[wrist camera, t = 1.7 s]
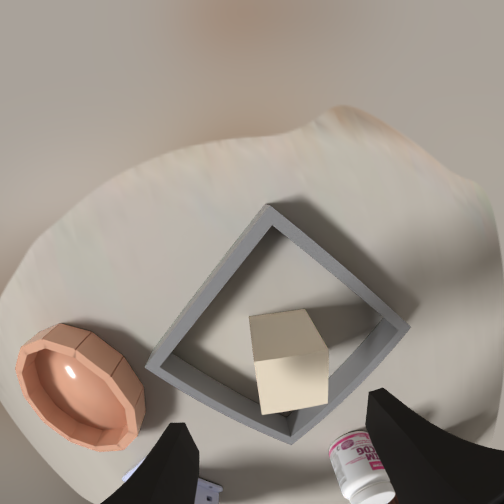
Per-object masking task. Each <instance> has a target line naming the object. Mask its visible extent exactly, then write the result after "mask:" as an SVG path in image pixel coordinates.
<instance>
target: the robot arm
mask: <svg viewBox="0 0 504 504" xmlns="http://www.w3.org/2000/svg"><path fill="white" fill-rule="evenodd" d="M365 425H366V428H367V431H368V434H369V437H370V439H371V442H372V445H373V447H374V449H375V451H376V453H377V455H378V457H379V459H380V461H381V463H382V465H383V467H384V469H385V471H386V473H387V475H388V477H389V479H390V481H391V483H392V485H393V488H394V490H395V493H396V496H397V499H398V502H399V504H504V451H502V450H496V449H492V448H488V447H484V446H481V445H478V444H475V443H471V442H468V441H466V440H463V439H461V438H458V437H456V436H454V435H452V434H450V433H448V432H446V431H444V430H442V429H440V428H439V427H437V426H435V425H434V424H432V423H430V422H429V421H427V420H426V419H424V418H423V417H421V416H420V415H418V414H417V413H415V412H414V411H413V410H411V409H410V408H408V407H407V406H406V405H405V404H403V403H402V402H401V401H399V400H398V399H397V398H396V397H394V396H393V395H392V394H391V393H389V392H388V391H387V390H386V389H384V388H380V389H377V390H374V391H370V392H369V395H368V406H367V415H366V423H365ZM198 477H199V450H198V448H197V446H196V444H195V443H194V441H193V439H192V437H191V435H190V433H189V430H188V428H187V426H186V424H185V423H170V424H169V425H168V427H167V428H166V430H165V431H164V433H163V434H162V436H161V437H160V438H159V440H158V441H157V443H156V444H155V446H154V447H153V449H152V450H151V451H150V453H149V454H148V455H147V456H146V457H145V458H144V459H143V460H141V461H140V462H139V463H138V464H137V465H136V466H135V467H134V468H132V469H131V470H130V471H129V472H128V473H127V474H125V475H124V476H123V477H122V481H124V482H125V483H124V484H123V485H122V486H121V487H120V488H119V489H117V490H116V491H115V492H114V493H113V494H112V495H111V496H109V497H108V498H107V499H106V500H105V501H103V502H102V503H101V504H219V492H221V491H223V488H222V487H221V486H219V485H216V484H213V483H210V482H208V481H205V480H203V479H200V478H198Z"/></svg>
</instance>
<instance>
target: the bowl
mask: <svg viewBox="0 0 504 504" xmlns="http://www.w3.org/2000/svg"><path fill="white" fill-rule="evenodd" d="M15 370H16V373H17V377H18V380H19V383H20V386H21V390H22V393H23V395H24V397H25V398H26V400H27V401H28V403H29V404H30V405H31V407H32V408H33V409H34V411H35V412H36V413H37V415H38V416H39V417H40V418H41V420H42V421H44V423H45V424H47V425H48V426H49V427H51V428H52V429H53V430H55V431H56V432H57V433H59V434H60V435H61V436H63V437H64V438H66V439H67V440H68V441H70V442H72V443H75V444H78V445H80V446H83V447H86V448H89V449H92V450H95V451H99V452H104V451H118V450H124V449H125V448H126V447H127V446H128V445H129V444H130V443H131V442H132V441H133V440H134V439H135V438H136V437H137V436H138V433H139V430H140V427H141V425H142V422H143V419H144V416H145V413H146V410H145V397H144V387H143V385H142V383H141V382H140V380H139V379H138V377H137V376H136V374H135V373H134V371H133V370H132V368H131V367H130V365H129V363H128V362H127V360H126V359H125V357H123V355H122V354H120V353H119V352H118V351H116V350H115V349H114V348H112V347H111V346H110V345H108V344H107V343H106V342H104V341H103V340H102V339H101V338H99V337H98V336H97V335H95V334H94V333H93V332H92V333H91V331H87V330H83V329H80V328H76V327H72V326H68V325H65V324H61V323H59V324H57V325H55V326H52V327H50V328H48V329H45V330H43V331H40V332H39V333H37V334H36V335H35V336H34V337H32V338H31V339H30V340H29V341H28V342H26V343H25V344H24V345H23V346H22V347H21V348H20V352H19V355H18V359H17V363H16V367H15Z"/></svg>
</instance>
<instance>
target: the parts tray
mask: <svg viewBox="0 0 504 504" xmlns="http://www.w3.org/2000/svg"><path fill="white" fill-rule="evenodd" d="M272 225H273V226H274V227H275V228H276V229H278V230H279V231H280V232H281V233H283V234H284V235H285V236H286V237H288V238H289V239H290V240H291V241H293V242H294V243H295V244H296V245H298V246H299V247H300V248H301V249H303V250H304V251H305V252H306V253H307V254H309V255H310V256H311V257H312V258H314V259H315V260H316V261H317V262H318V263H320V264H321V265H322V266H323V267H325V268H326V269H327V270H328V271H329V272H331V273H332V274H333V275H334V276H335V277H337V278H338V279H339V280H340V281H341V282H343V283H344V284H345V285H346V286H347V287H349V288H350V289H351V290H352V291H353V292H354V293H356V294H357V295H358V296H359V297H360V298H362V299H363V300H364V301H365V302H366V303H367V304H369V305H370V306H371V307H372V308H373V309H374V310H376V311H377V312H378V313H379V314H380V315H381V316H383V317H384V318H383V319H382V320H381V322H380V323H379V324H378V325H377V326H376V328H375V329H374V330H373V331H372V332H371V333H370V335H369V336H368V337H367V338H366V339H365V340H364V341H363V342H362V344H361V345H360V346H359V347H358V348H357V349H356V350H355V351H354V352H353V354H352V355H351V356H350V357H349V358H348V359H347V360H346V361H345V362H344V363H343V364H342V365H341V366H340V367H339V368H338V369H337V370H336V371H335V372H334V374H333V375H332V376H331V377H330V378H329V379H328V403H327V404H323V405H318V406H313V407H308V408H303V409H297V410H295V411H294V412H292V413H291V414H290V415H289V416H288V417H287V418H286V417H283V416H281V415H279V414H277V413H272V414H265V415H262V412H261V406H260V405H259V404H257V403H256V402H254V401H252V400H250V399H248V398H246V397H244V396H242V395H241V394H239V393H237V392H235V391H233V390H232V389H230V388H228V387H226V386H225V385H223V384H221V383H219V382H218V381H216V380H214V379H213V378H211V377H209V376H208V375H206V374H204V373H203V372H201V371H199V370H198V369H196V368H195V367H193V366H191V365H190V364H188V363H187V362H185V361H183V360H182V359H180V358H179V357H177V356H176V355H174V354H173V353H171V352H172V351H173V349H174V348H175V347H176V346H177V344H178V343H179V342H180V341H181V339H182V338H183V337H184V335H185V334H186V333H187V332H188V330H189V329H190V328H191V327H192V325H193V324H194V323H195V322H196V320H197V319H198V318H199V317H200V315H201V314H202V313H203V311H204V310H205V309H206V308H207V306H208V305H209V304H210V303H211V301H212V300H213V299H214V298H215V296H216V295H217V294H218V293H219V291H220V290H221V289H222V288H223V286H224V285H225V284H226V282H227V281H228V280H229V279H230V277H231V276H232V275H233V274H234V272H235V271H236V270H237V269H238V267H239V266H240V265H241V264H242V262H243V261H244V260H245V259H246V257H247V256H248V255H249V253H250V252H251V251H252V250H253V248H254V247H255V246H256V245H257V243H258V242H259V241H260V240H261V238H262V237H263V236H264V235H265V233H266V232H267V231H268V230H269V228H270V227H271V226H272ZM410 328H411V327H410V326H409V325H408V324H407V323H406V322H405V321H404V320H403V319H402V318H401V317H400V316H399V315H398V314H396V313H395V312H394V311H393V310H392V309H391V308H390V307H389V306H388V305H387V304H386V303H384V302H383V301H382V300H381V299H380V298H379V297H378V296H377V295H376V294H374V293H373V292H372V291H371V290H370V289H369V288H368V287H367V286H365V285H364V284H363V283H362V282H361V281H360V280H359V279H357V278H356V277H355V276H354V275H353V274H352V273H351V272H349V271H348V270H347V269H346V268H345V267H344V266H343V265H341V264H340V263H339V262H338V261H337V260H336V259H334V258H333V257H332V256H331V255H330V254H329V253H327V252H326V251H325V250H324V249H323V248H321V247H320V246H319V245H318V244H317V243H315V242H314V241H313V240H312V239H311V238H309V237H308V236H307V235H306V234H305V233H303V232H302V231H301V230H300V229H299V228H297V227H296V226H295V225H294V224H292V223H291V222H290V221H289V220H288V219H286V218H285V217H284V216H283V215H281V214H280V213H279V212H278V211H276V210H275V209H274V208H273V207H271V206H270V205H267V204H265V205H264V206H263V208H262V209H261V210H260V211H259V213H258V214H257V215H256V216H255V218H254V219H253V220H252V221H251V223H250V224H249V225H248V227H247V228H246V229H245V230H244V232H243V233H242V234H241V235H240V237H239V238H238V239H237V241H236V242H235V243H234V244H233V246H232V247H231V248H230V250H229V251H228V252H227V253H226V255H225V256H224V257H223V259H222V260H221V261H220V262H219V264H218V265H217V266H216V268H215V269H214V270H213V271H212V273H211V274H210V275H209V277H208V278H207V279H206V281H205V282H204V283H203V284H202V286H201V287H200V288H199V290H198V291H197V292H196V294H195V295H194V296H193V298H192V299H191V300H190V301H189V303H188V304H187V305H186V307H185V308H184V309H183V311H182V312H181V313H180V315H179V316H178V317H177V319H176V320H175V321H174V323H173V324H172V325H171V327H170V328H169V329H168V331H167V332H166V333H165V335H164V336H163V337H162V339H161V340H160V341H159V343H158V344H157V345H156V347H155V348H154V349H153V351H152V353H151V355H150V357H149V359H148V361H147V363H146V365H145V367H144V368H146V369H147V370H149V371H150V372H152V373H154V374H155V375H157V376H158V377H160V378H161V379H163V380H164V381H166V382H168V383H169V384H171V385H172V386H174V387H176V388H177V389H179V390H181V391H182V392H184V393H186V394H187V395H189V396H191V397H193V398H194V399H196V400H198V401H200V402H201V403H203V404H205V405H207V406H209V407H211V408H212V409H214V410H216V411H218V412H220V413H222V414H224V415H226V416H228V417H230V418H232V419H234V420H236V421H238V422H240V423H242V424H244V425H246V426H248V427H250V428H253V429H255V430H257V431H259V432H261V433H264V434H266V435H268V436H271V437H273V438H275V439H278V440H280V441H282V442H285V443H287V444H290V445H292V444H293V443H295V442H296V441H297V440H298V439H300V438H301V437H302V436H303V435H305V434H306V433H307V432H308V431H309V430H311V429H312V428H313V427H314V426H315V425H317V424H318V423H319V422H320V421H321V420H322V419H324V418H325V417H326V416H327V415H328V414H329V413H330V412H331V411H333V410H334V409H335V408H336V407H337V406H338V405H339V404H340V403H341V402H342V401H343V400H344V399H345V398H347V397H348V396H349V395H350V394H351V393H352V392H353V391H354V390H355V389H356V388H357V387H358V386H359V385H360V384H361V383H362V382H363V381H364V380H365V379H366V378H367V377H368V376H369V375H370V374H371V372H372V371H373V370H374V369H375V368H376V367H377V366H378V365H379V364H380V363H381V362H382V361H383V360H384V358H385V357H386V356H387V355H388V354H389V353H390V352H391V351H392V349H393V348H394V347H395V346H396V345H397V344H398V342H399V341H400V340H401V339H402V338H403V336H404V335H405V334H406V333H407V332H408V330H409V329H410Z"/></svg>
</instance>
